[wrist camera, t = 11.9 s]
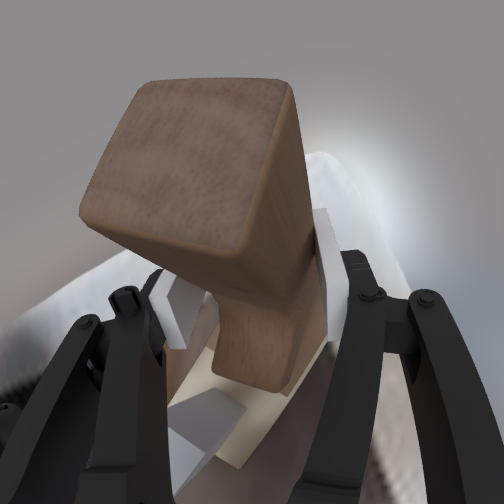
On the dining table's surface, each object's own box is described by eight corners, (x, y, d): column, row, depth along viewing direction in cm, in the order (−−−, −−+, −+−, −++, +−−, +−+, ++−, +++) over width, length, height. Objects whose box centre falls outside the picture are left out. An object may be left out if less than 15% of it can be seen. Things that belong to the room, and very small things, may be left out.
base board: (166, 414, 32) (150, 421, 28) (266, 254, 35) (261, 243, 31) (242, 465, 29) (234, 478, 25) (349, 300, 32) (355, 295, 28)
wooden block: (288, 386, 21) (171, 488, 5) (229, 369, 23) (22, 389, 6) (320, 266, 23) (295, 73, 7) (262, 253, 25) (140, 76, 8)
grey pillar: (185, 430, 29) (114, 473, 16) (214, 386, 30) (151, 413, 17) (217, 451, 28) (161, 510, 15) (248, 408, 29) (205, 453, 16)
